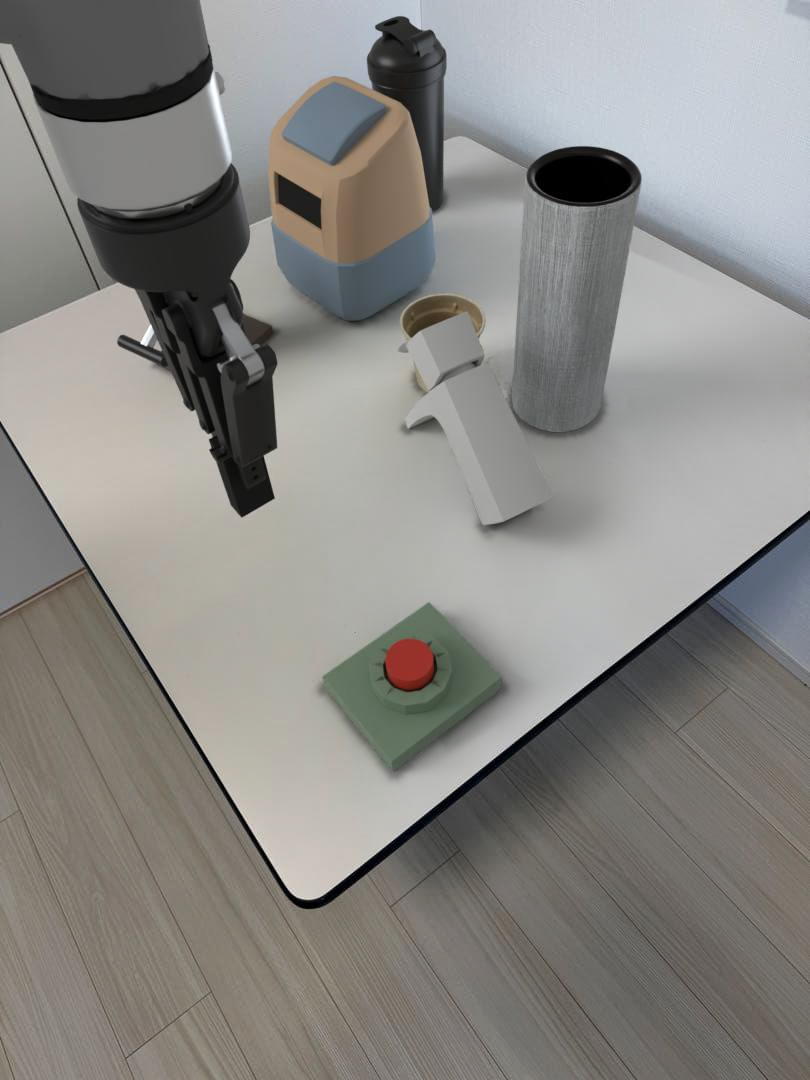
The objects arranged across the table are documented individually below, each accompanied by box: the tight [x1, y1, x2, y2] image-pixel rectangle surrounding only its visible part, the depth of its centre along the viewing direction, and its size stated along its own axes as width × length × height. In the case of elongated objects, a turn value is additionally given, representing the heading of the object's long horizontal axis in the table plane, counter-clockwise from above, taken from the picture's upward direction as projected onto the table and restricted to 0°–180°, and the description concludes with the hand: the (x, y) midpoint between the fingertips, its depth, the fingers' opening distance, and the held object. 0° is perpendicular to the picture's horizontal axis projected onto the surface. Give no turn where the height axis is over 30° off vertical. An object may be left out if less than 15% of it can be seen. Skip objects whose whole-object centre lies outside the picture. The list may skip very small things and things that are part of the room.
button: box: [385, 638, 434, 690], centre depth 69 cm, size 4×4×2 cm
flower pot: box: [399, 292, 487, 394], centre depth 92 cm, size 9×9×9 cm
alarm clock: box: [267, 75, 436, 321], centre depth 99 cm, size 17×17×23 cm
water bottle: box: [366, 15, 448, 213], centre depth 110 cm, size 10×10×23 cm
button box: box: [321, 601, 503, 773], centre depth 71 cm, size 12×10×4 cm
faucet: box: [397, 311, 555, 526], centre depth 84 cm, size 6×16×20 cm
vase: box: [511, 145, 643, 433], centre depth 82 cm, size 10×10×27 cm
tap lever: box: [116, 324, 168, 368], centre depth 92 cm, size 13×7×2 cm, turn 146°
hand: (252, 501), depth 56 cm, fingers closed
